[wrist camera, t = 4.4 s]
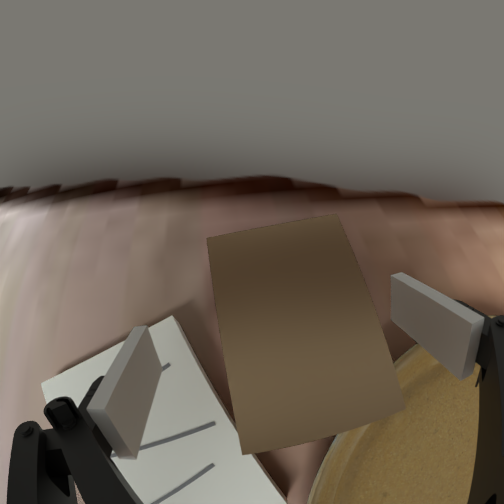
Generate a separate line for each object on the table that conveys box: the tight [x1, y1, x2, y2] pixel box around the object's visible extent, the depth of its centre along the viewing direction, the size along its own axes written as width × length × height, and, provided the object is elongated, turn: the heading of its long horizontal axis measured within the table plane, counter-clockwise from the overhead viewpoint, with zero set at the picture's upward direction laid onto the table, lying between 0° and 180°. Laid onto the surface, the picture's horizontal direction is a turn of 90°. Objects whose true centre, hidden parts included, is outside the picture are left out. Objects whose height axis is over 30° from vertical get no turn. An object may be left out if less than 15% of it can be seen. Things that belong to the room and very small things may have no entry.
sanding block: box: [207, 214, 406, 455], centre depth 12 cm, size 6×4×12 cm, turn 10°
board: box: [41, 315, 288, 504], centre depth 14 cm, size 14×12×2 cm
